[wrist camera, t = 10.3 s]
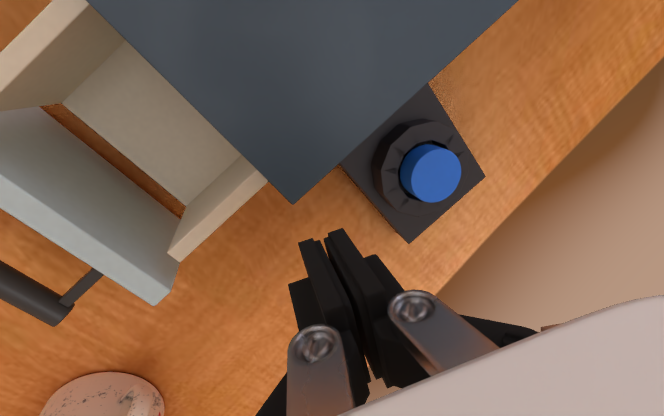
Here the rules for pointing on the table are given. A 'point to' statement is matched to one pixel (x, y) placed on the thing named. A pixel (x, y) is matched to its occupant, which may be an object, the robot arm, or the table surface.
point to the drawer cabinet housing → (299, 68)
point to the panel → (388, 154)
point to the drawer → (94, 171)
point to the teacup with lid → (105, 397)
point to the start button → (430, 173)
